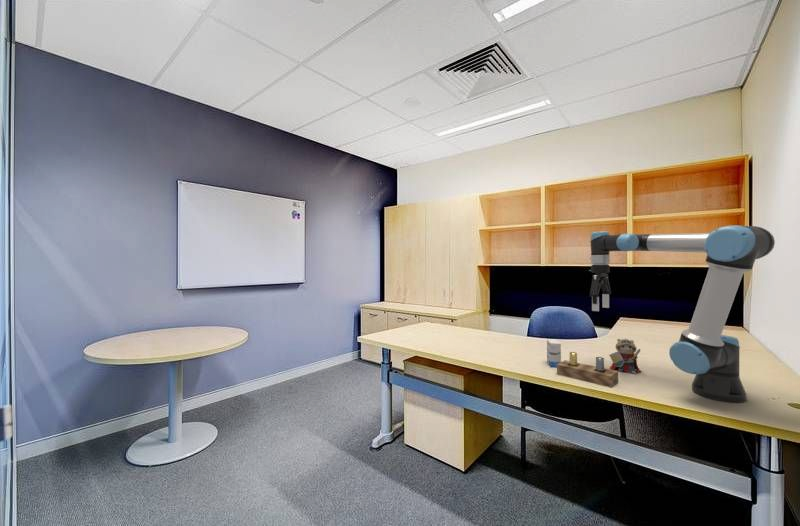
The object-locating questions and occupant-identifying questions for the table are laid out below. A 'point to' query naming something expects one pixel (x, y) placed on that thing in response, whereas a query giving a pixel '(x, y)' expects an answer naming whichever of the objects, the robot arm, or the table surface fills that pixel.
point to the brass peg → (573, 359)
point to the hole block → (588, 373)
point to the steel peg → (600, 364)
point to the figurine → (625, 356)
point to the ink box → (553, 352)
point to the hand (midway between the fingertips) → (600, 309)
